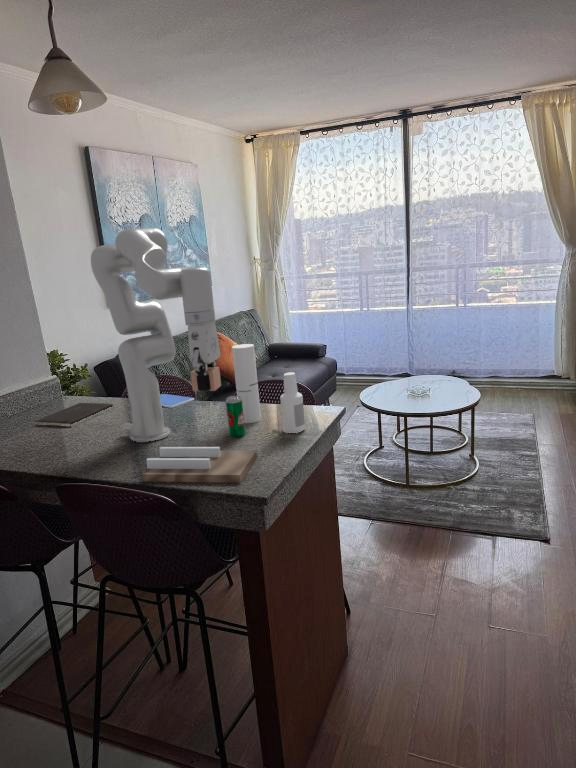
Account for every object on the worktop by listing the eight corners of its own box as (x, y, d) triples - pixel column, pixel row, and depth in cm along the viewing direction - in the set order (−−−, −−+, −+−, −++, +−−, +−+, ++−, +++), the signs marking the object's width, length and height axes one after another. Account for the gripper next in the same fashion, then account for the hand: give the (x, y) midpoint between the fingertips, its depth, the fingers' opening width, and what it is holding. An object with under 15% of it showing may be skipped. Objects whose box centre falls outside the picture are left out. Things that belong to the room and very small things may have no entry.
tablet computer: (138, 404, 217) (138, 400, 217) (163, 395, 227) (163, 392, 226) (171, 409, 205) (170, 406, 205) (195, 400, 215) (195, 397, 215)
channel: (147, 468, 143) (146, 459, 142) (162, 455, 152) (160, 447, 151) (209, 469, 139) (208, 459, 139) (220, 455, 148) (219, 446, 147)
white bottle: (307, 432, 166) (302, 374, 162) (284, 435, 166) (279, 377, 161) (302, 425, 173) (298, 370, 169) (281, 428, 172) (276, 372, 168)
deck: (142, 481, 140) (141, 474, 140) (168, 457, 155) (167, 450, 155) (240, 482, 135) (239, 475, 134) (257, 457, 150) (256, 450, 149)
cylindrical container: (265, 419, 182) (258, 345, 176) (246, 424, 179) (238, 349, 172) (254, 415, 188) (246, 343, 182) (235, 420, 184) (227, 346, 178)
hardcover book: (36, 426, 198) (35, 420, 197) (81, 408, 218) (80, 402, 218) (71, 428, 192) (70, 422, 191) (114, 409, 212) (113, 403, 212)
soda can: (243, 438, 166) (239, 400, 163) (227, 438, 167) (222, 400, 164) (247, 432, 171) (243, 395, 168) (232, 432, 172) (227, 395, 169)
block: (192, 391, 141) (190, 372, 140) (199, 386, 146) (197, 367, 145) (215, 390, 140) (212, 371, 139) (221, 385, 145) (219, 367, 144)
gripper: (202, 322, 130) (211, 396, 134) (224, 312, 146) (231, 379, 150) (172, 323, 131) (182, 396, 136) (198, 313, 147) (205, 379, 152)
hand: (208, 386), depth 143 cm, fingers closed on block, 5 cm apart
